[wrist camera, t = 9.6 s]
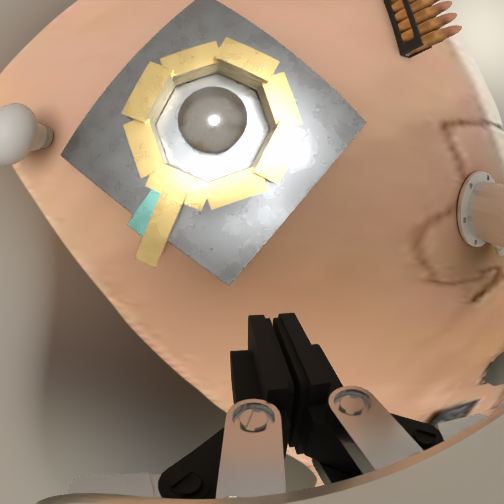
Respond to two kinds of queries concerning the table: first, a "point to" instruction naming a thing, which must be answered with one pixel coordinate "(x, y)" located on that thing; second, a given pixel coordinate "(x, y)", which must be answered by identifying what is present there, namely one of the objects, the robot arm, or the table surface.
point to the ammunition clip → (419, 24)
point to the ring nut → (188, 185)
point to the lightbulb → (20, 133)
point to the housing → (214, 140)
